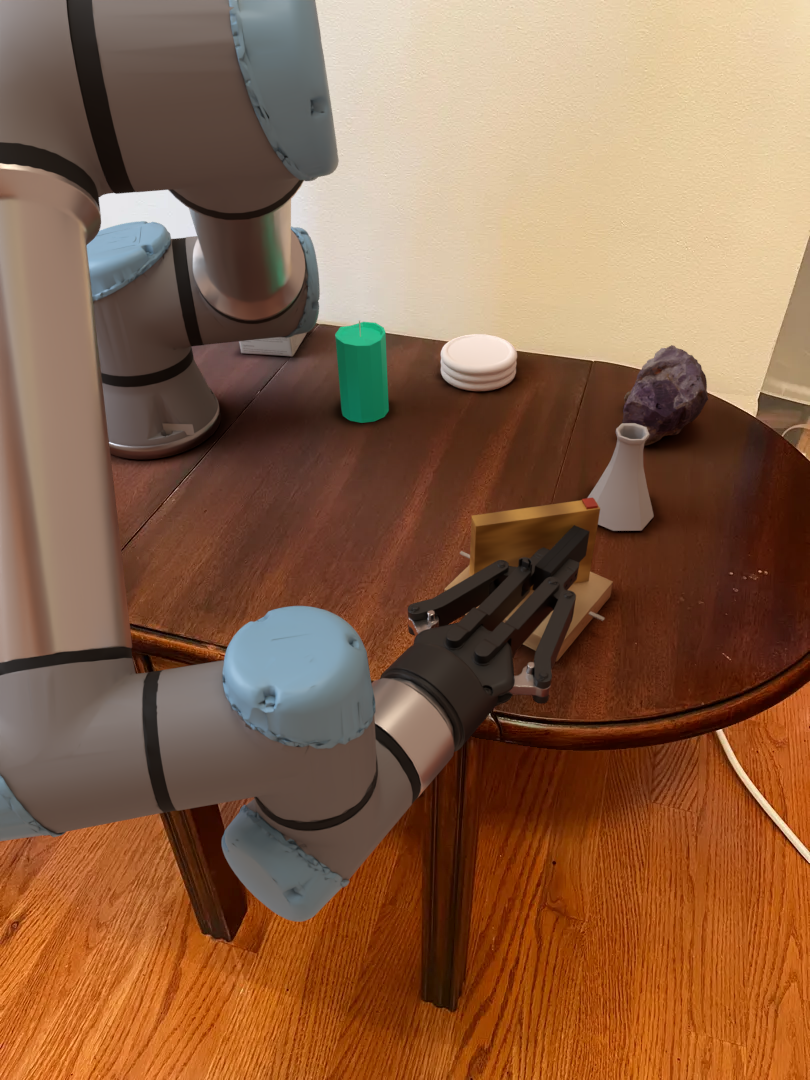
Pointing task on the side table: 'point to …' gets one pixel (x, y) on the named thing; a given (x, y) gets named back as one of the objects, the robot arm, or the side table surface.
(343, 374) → the candle
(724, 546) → the side table surface
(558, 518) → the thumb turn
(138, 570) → the side table surface
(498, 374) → the coaster
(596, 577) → the plate
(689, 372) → the rock
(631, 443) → the flask
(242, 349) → the small box
